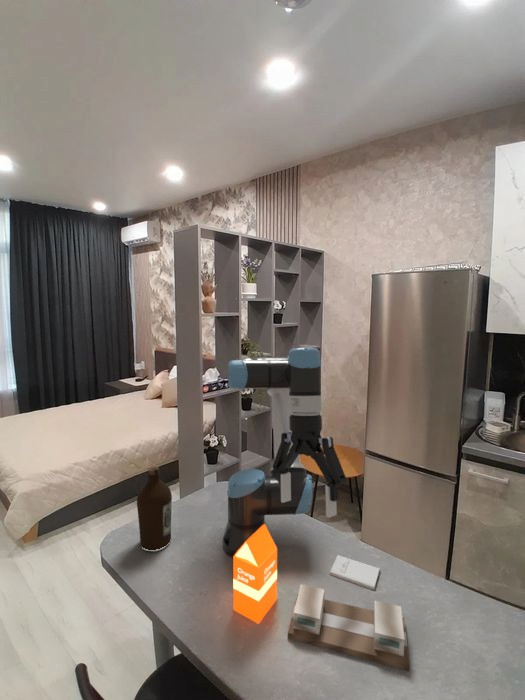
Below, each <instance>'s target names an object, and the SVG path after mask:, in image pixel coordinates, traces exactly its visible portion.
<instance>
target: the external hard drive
mask: <svg viewBox="0 0 525 700" xmlns="http://www.w3.org/2000/svg"><path fill="white" fill-rule="evenodd" d="M380 573H381V568H380V567H377V566H374V565H370V564H367V563H364V562H361V561H359V560H358V561H357V560H354V559H352V558H349V557H345V556H342V555H339V554H337V556H336V558H335V559H334V562H333V565H332V566H331V568H330V571H329V575H330V576H333V577H336V578H338V579H341V580H344V581H347V582H349V583H353V584H355V585H359V586H361V587H364V588H367V589H369V590H372V591H375V589H376V586H377V583H378V580H379V575H380Z"/></svg>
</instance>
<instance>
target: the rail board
mask: <svg viewBox="0 0 525 700" xmlns="http://www.w3.org/2000/svg"><path fill="white" fill-rule="evenodd" d="M295 598H296V599H295V602H294V607H293V610H292V615H291V619H290V623H289V625H288V631H287V639H288V640H292V641H294V642H295V641H296V642H300V643H303V644H307V645H311V646H315V647H318V648H322V649H326V650H330V651H332V652H333V651H334V652H337V653H340V654H345V655H347V656H352V657H356V658H359V659H363V660H366V661H367V660H368V661H370V662H375V663H379V664H382V665H385V666H389V667H393V668H397V669H401V670H405V671H410V658H409V657H410V656H409V650H408V641H407V631H406V624H405V622H406V621H405V617H403V613H402V606H401V605H396V604H392V603H386V602H382V601H377V600H374V607H373V610H372V609H367V608H364V607H359V606H354V605H350V604H346V603H341V602H337V601H334V600H328V599H325V589H323V588H319V587H316V586H315V587H314V586H311V585H305V584H300V586H299V589H298V593H297V595H296V597H295Z"/></svg>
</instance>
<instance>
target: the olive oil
mask: <svg viewBox="0 0 525 700" xmlns="http://www.w3.org/2000/svg"><path fill="white" fill-rule="evenodd" d="M159 469H160V467H158V466H152V467H149V468H148V473H147V478H148V480H147V481H146V483H144V485H143V486H142V487H141V488H140V489H139V491H138V494H137V497H136V506H137V518H138V526H139V527H138V528H139V529H138V530H139V541H140V543H139V544H140V547H141V546H142V547H143V548H145V549H148V550H156V549H160V548H162V547H164V546H166V545H167V544H168V543H169V542H170V540H172V505H173V504H172V503H173V502H172V500H173V499H172V498H173V496H172V491H171V489H170V487H169V485H167V483H165V482H164V481H162V480H161V479H160V472H159V471H160V470H159ZM170 543H171V542H170Z"/></svg>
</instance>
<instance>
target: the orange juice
mask: <svg viewBox="0 0 525 700" xmlns="http://www.w3.org/2000/svg"><path fill="white" fill-rule="evenodd" d="M266 526H267V524H266V525H265V524H263V525H262V526H261V527H260V528H259V529H258V530H257V531H256V532H255V533H254V534H253V535H252V536H251V537H250V538H249V539H248V540H247V541H246V542H245V543H244V544H243V545H242V546H241V548H240V549H239V550H238V551H237V552H238V553H236V554H235V555H234V556H233V557H232V558H233V559H232V560H233V562H232V563H233V569H232V571H233V579H232V582H233V583H232V589H233V611H235V612H237V613H238V614H240V615H242V616H244V617H245V618H247V619H249V620H251V621H253V622H254V623H255V624H258V625H259V624H260V623H261V622H262V620H263V618H264V617H265V616H266V614H267V613H268V612H269V611H270V609H271V608H272V606H273V605H274V604H275V602H277V599H278V596H277V595H278V592H277V591H278V590H277V589H278V585H277V584H278V581H277V580H278V547H277V545H276V544H275V541H274V538H272V536H271V533H270V532H269V530H268V527H266Z"/></svg>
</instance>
